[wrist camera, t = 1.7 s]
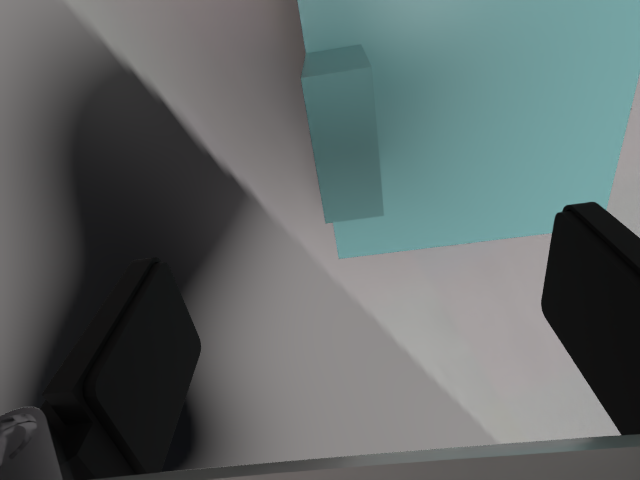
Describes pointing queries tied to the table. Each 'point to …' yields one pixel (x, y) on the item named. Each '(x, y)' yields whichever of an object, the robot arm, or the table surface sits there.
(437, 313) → the table surface
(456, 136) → the lid
